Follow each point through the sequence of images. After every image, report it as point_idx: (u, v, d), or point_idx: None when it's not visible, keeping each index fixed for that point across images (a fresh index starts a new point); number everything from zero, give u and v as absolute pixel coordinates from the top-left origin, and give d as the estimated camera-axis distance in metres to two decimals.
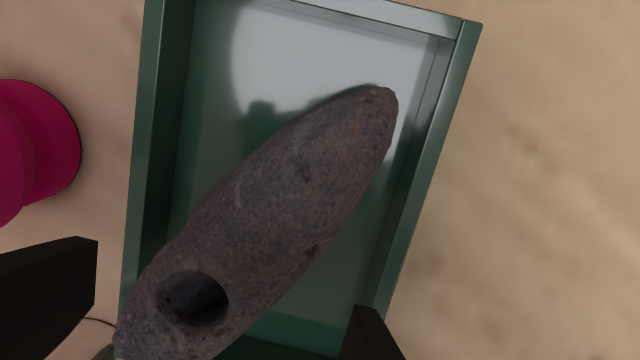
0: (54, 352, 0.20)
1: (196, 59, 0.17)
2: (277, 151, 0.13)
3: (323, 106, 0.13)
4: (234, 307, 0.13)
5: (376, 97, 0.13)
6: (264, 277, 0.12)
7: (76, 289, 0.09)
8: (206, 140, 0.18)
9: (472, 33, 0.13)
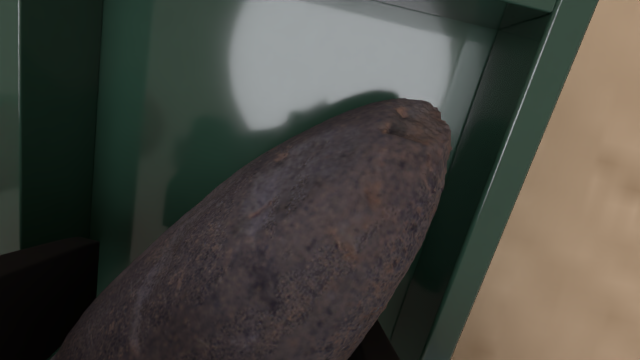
0: None
1: (112, 52, 0.11)
2: (218, 235, 0.06)
3: (309, 138, 0.07)
4: None
5: (411, 122, 0.07)
6: None
7: (78, 289, 0.09)
8: (135, 175, 0.12)
9: None
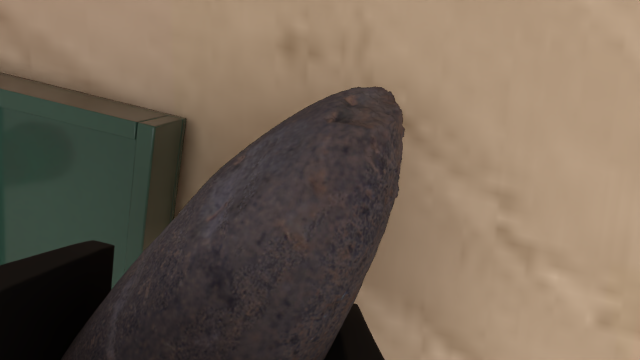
0: None
1: None
2: (179, 241, 0.06)
3: (264, 138, 0.07)
4: None
5: (358, 109, 0.07)
6: None
7: (93, 293, 0.09)
8: None
9: (147, 134, 0.15)
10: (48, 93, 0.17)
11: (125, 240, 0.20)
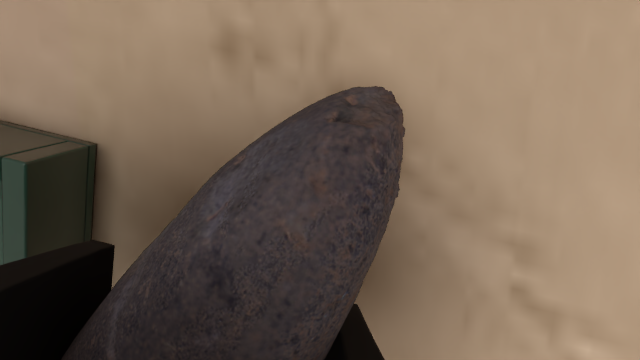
0: None
1: None
2: (179, 240, 0.06)
3: (264, 138, 0.07)
4: None
5: (358, 108, 0.07)
6: None
7: (93, 293, 0.09)
8: None
9: (15, 174, 0.11)
10: None
11: None
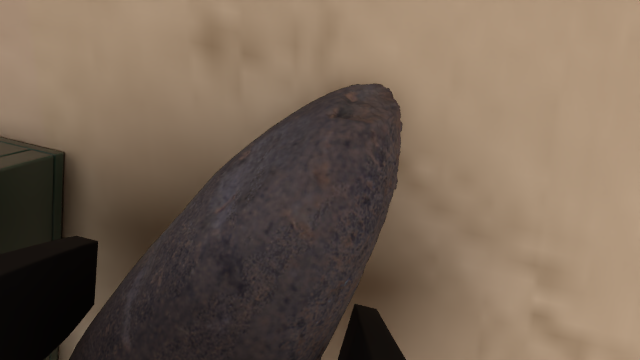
0: None
1: None
2: (190, 232, 0.07)
3: (268, 134, 0.08)
4: None
5: (358, 104, 0.07)
6: None
7: (76, 289, 0.09)
8: None
9: None
10: None
11: None
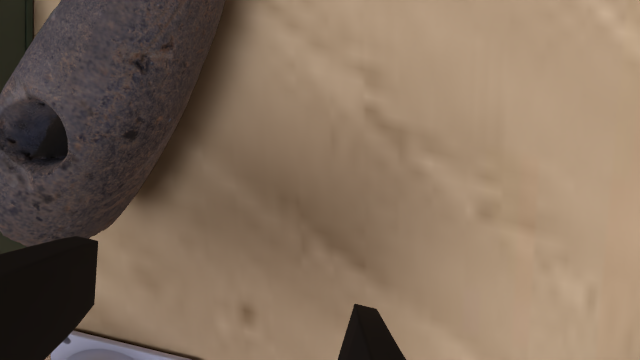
0: None
1: None
2: None
3: None
4: (69, 128, 0.12)
5: None
6: (91, 90, 0.12)
7: (76, 289, 0.09)
8: None
9: None
10: None
11: None
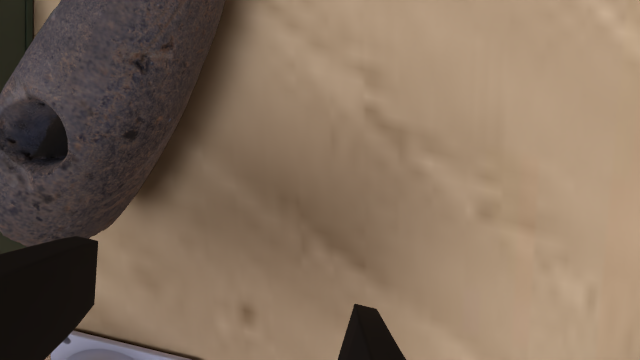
0: None
1: None
2: None
3: None
4: (69, 128, 0.12)
5: None
6: (91, 90, 0.12)
7: (76, 289, 0.09)
8: None
9: None
10: None
11: None
